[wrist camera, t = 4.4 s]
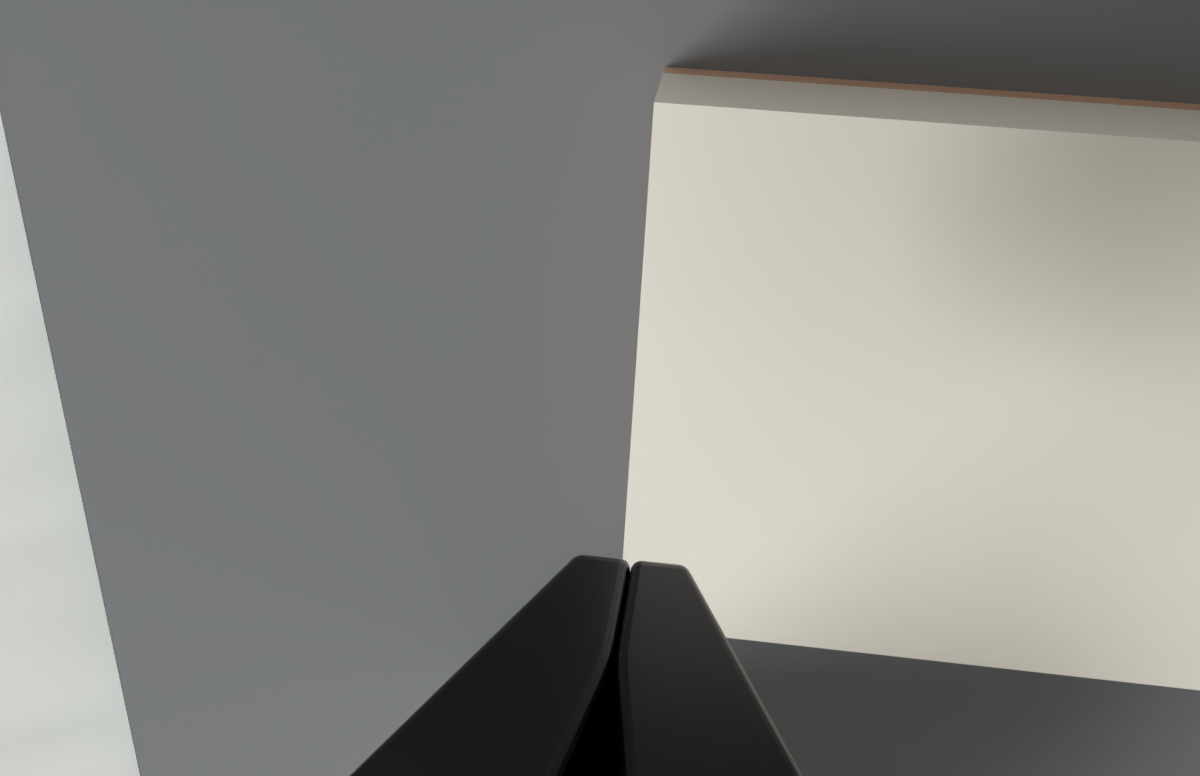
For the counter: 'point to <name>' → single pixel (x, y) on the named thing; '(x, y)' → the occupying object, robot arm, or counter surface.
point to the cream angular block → (925, 371)
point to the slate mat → (447, 346)
